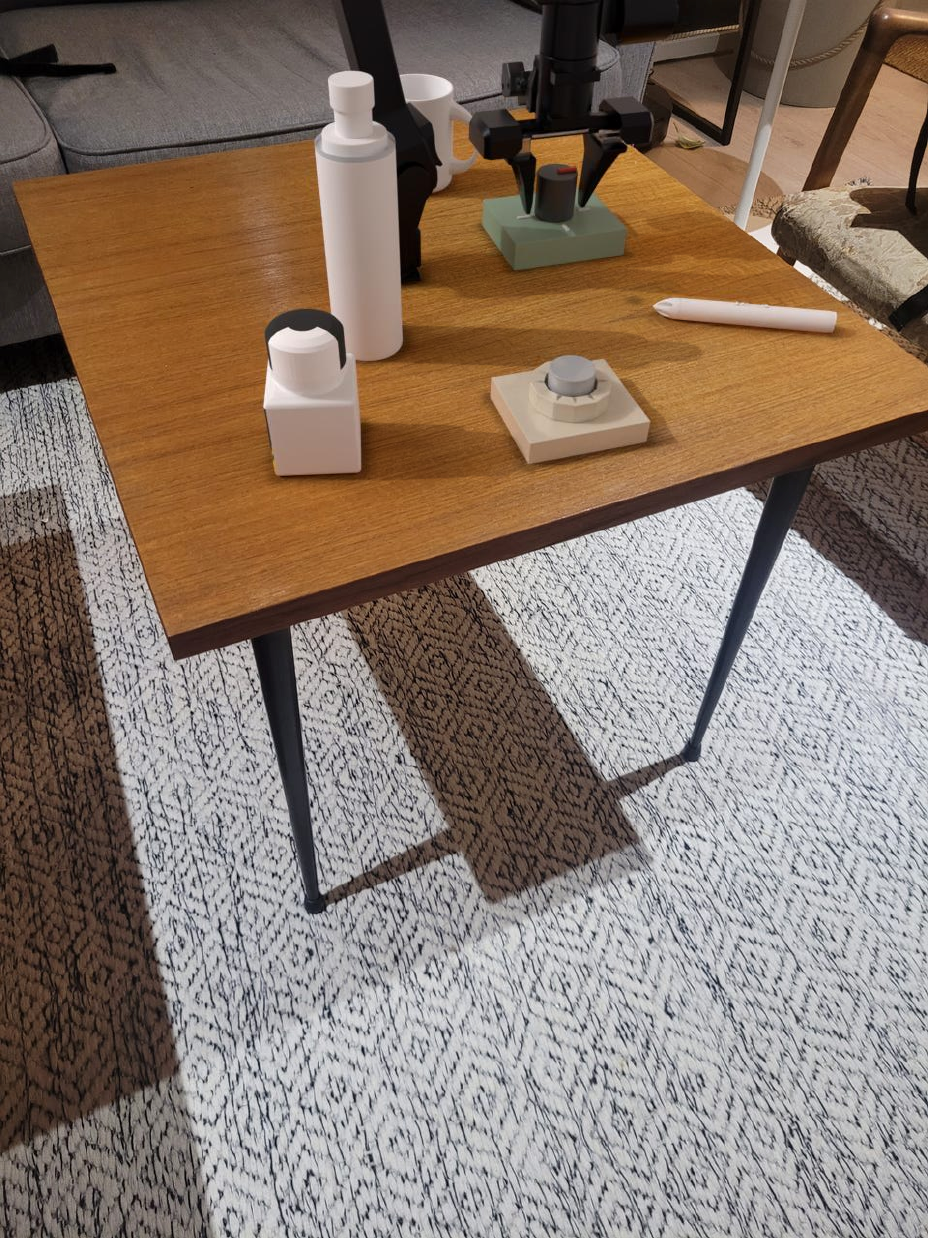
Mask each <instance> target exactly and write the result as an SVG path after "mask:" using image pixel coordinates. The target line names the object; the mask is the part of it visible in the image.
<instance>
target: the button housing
mask: <svg viewBox="0 0 928 1238" xmlns="http://www.w3.org/2000/svg"><path fill="white" fill-rule="evenodd" d="M552 361H553V360H549V361H545V362H544V363H542V364H541V365H539V366H537V367H536V368H534V369H533V370H528V371H523V372H521V371H520V372H516V373H510V374H504V375H498V376H492V377H491V379H490V399H491V402H492V403H493V405H494V407H495V408H496V410H497V412H498V414H499V416H500V417H501V419H502V421H503V422H504V424H505V426H506V428H507V429H508V432H509V433H510V435H511V437H512V439H513V440H514V441H515V443H516V446H517V447H518V449H519V451H520V452H521V454H522V456H523V457H524V460H525V461H526V463H527V465H531V464H537V463H538V464H539V463H543V462H548V461H552V460H553V461H554V460H557V459H558V460H559V459H564V458H570V457H574V456H579V455H584V454H591V453H596V452H600V451H605V450H610V449H615V448H621V447H626V446H632V445H637V444H642V443H647V440H648V434H649V431H650V425H651V420H650V419H649V417H648V416H647V415H646V413H645V412H644V411H643V410H642V408H641V406H640V405H639V404H638V402H637V401H636V400H635V399H634V397H633V395H632V394H631V393H630V391H629V390H628V389H627V388H626V386H625V385H624V384H623V382H622V381H621V380H620V378H619V377H618V376H617V373H616V372H615V371H614V370H613V369H612V367H611V366H610V365H609V363H608V362H607V360H605V358H600V359H593V360H590V361H591V362H592V363H593V364H594V365H595V367H596V376H595V383H594V389H593V391H592V392H591V393H590V394H589V395H585V396H579V397H567V396H560V395H558V394H556V393H555V392H553V391H551V390H550V389H549V387H548V375H549V366H550V363H551V362H552Z"/></svg>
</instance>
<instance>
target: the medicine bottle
mask: <svg viewBox="0 0 928 1238" xmlns="http://www.w3.org/2000/svg"><path fill="white" fill-rule="evenodd" d="M264 341H265V346H266V351H267V367H266V377H265V385H264V396H263V406H262V407H263V413H264V418H265V424H266V428H267V429H266V430H267V435H268V441H269V447H270V452H271V458H272V464H273V470H274V473H275V475H276V476H278V477H282V476H285V477H286V476H305V475H306V476H308V475H330V474H331V475H332V474H354V473H359V472H361V471H362V428H361V426H362V425H361V424H362V423H361V411H360V400H359V387H358V373H357V363H356V362H357V360H355V356H354V355H353V354H352V353H346V347H345V336H344V327H343V325H342V323H341V322H340V321H339V320H338V319H337V318H336V317H335V316H333V315H332V314H331V312H328V311H326V310H321V309H317V308H297V309H292V310H287V311H285V312H283V313H282V312H281V313H280V314H278V315H276V316H275V317H273V319H271V320H270V321H269V323H268V324H267V326H266V328H265V329H264Z"/></svg>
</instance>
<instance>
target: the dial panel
mask: <svg viewBox="0 0 928 1238" xmlns="http://www.w3.org/2000/svg"><path fill="white" fill-rule="evenodd" d="M578 188H579V187H577V188H576V197H575V206H574V215H573V217H572V218H571V219H569V220H567V221H564V222H548V221H544V220H541V219H539V218H538V217H536V216H535V214H534V207H535V193H536V192H534V195H533V204H532V208H531V213H530V214H526V213H525V212H524V209H523V206H522V202H521V198H520V194H518V195H511V196H502V197H494V198H486V199H483V200H482V215H481V216H482V219H481V226H482V228H483V229H484V230H485V231H486V232H485V233H487V234H488V236H489V238H491V240H492V242H493V243H494V244H495V246H496V248H497V249H498V250H499V252H500V253H501V255H502V256H503V257H504V258H505V260H506V262H507V263H508V264H509V267H511V269H512V270H513V271H521V270H527V269H528V270H529V269H535V268H541V267H549V266H557V265H563V264H564V265H565V264H571V263H576V262H577V263H578V262H583V261H584V262H585V261H590V260H599V259H606V258H612V257H618V256H624V253H625V247H626V240H627V234H628V233H627V232H628V228H627V227H626V226H625V225H624V224H623V222H621V220H620V219H619V218H618V217H617V216H616V214H615V213H613V211H611V210H610V209H609V208H608V206H607V205H606V204H605V203H604V201H602V200H601V198H599V196H597V194H596V193H595V191H594V192H593V194H592V195H591V197H590V199H589V200H588V202H587V204H586V205H585V207H582V208H581V207H580V206H579V205H578Z"/></svg>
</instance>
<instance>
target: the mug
mask: <svg viewBox="0 0 928 1238" xmlns="http://www.w3.org/2000/svg"><path fill="white" fill-rule="evenodd" d="M399 75H400V80H401V84H402V88H403V92H404V97H405V101H406V104H407V103H409V102H411V103H412V104H413V105H414V106H415V107H416V108H417V109H418V110H419V111H420V112H421V113H422V114H423V115H424V116H425V117H426V118H427V119H428V120H429V121H430V122H431V123H432V125H433V130H434V139H435V150H436V153H437V156H438V158H439V159H440V161H441V162H442V166H436V168H437V175H438V182H437V187H436V188H435V189H434V190H433V192H432V194H434V193H438V192H440V191H442V190H444V189H445V188H447V187H448V186H449V184H450V183H451V182H452V179H453V176H454V175H460V174H463V173H465V172H467V171H469V170H470V169H471V168H472V167H473V166H474V164H475V162H476V161H477V158H478V156H479V152H478V151H477V149H476V148H474V149H475V150H474V152H473V154H472V155H471V157H469V158H467V159H466V160H461V159H459V158H457V157H454V148H453V147H454V121H456V122H459V123H462V124H465V125H466V126H468V127H469V122H470V120H471V118H472V117H473V115H472V114H471V113H470V112H469V111H468V110H467V109H466V108H464V107H463V106H462V105H460V104H459V103H458V102H456V101H455V100H454V85H453V84H452V82H451V81H450V80H447V79H445V78H444V77H440V76H437V75H432V74H428V73H427V74H426V73H406V74H399Z"/></svg>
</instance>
